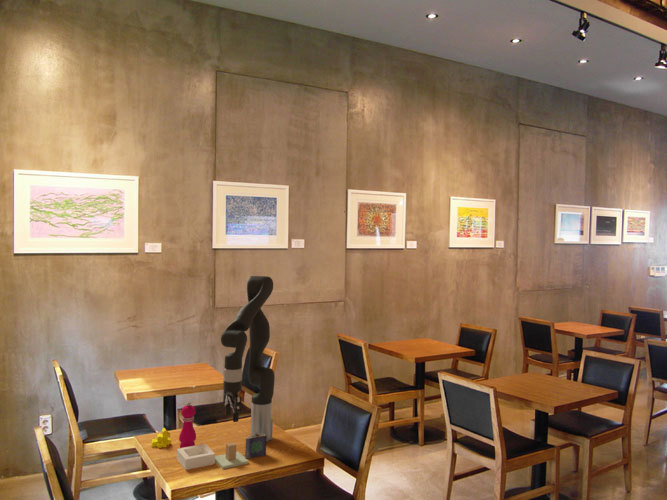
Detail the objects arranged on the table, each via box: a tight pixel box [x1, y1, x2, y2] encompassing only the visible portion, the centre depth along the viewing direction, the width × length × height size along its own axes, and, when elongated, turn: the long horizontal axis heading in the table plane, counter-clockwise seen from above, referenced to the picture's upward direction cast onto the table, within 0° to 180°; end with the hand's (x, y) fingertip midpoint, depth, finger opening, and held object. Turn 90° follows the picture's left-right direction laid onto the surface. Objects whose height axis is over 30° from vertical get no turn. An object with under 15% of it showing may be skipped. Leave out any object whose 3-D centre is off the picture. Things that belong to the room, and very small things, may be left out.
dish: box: [176, 443, 216, 471], centre depth 209 cm, size 12×12×4 cm
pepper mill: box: [178, 401, 197, 448], centre depth 224 cm, size 7×7×20 cm
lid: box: [215, 441, 249, 470], centre depth 211 cm, size 11×11×7 cm
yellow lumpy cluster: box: [151, 427, 172, 449], centre depth 226 cm, size 6×8×8 cm
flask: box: [244, 431, 267, 460], centre depth 217 cm, size 9×3×11 cm, turn 121°
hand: (231, 418), depth 211 cm, fingers open, 8 cm apart
